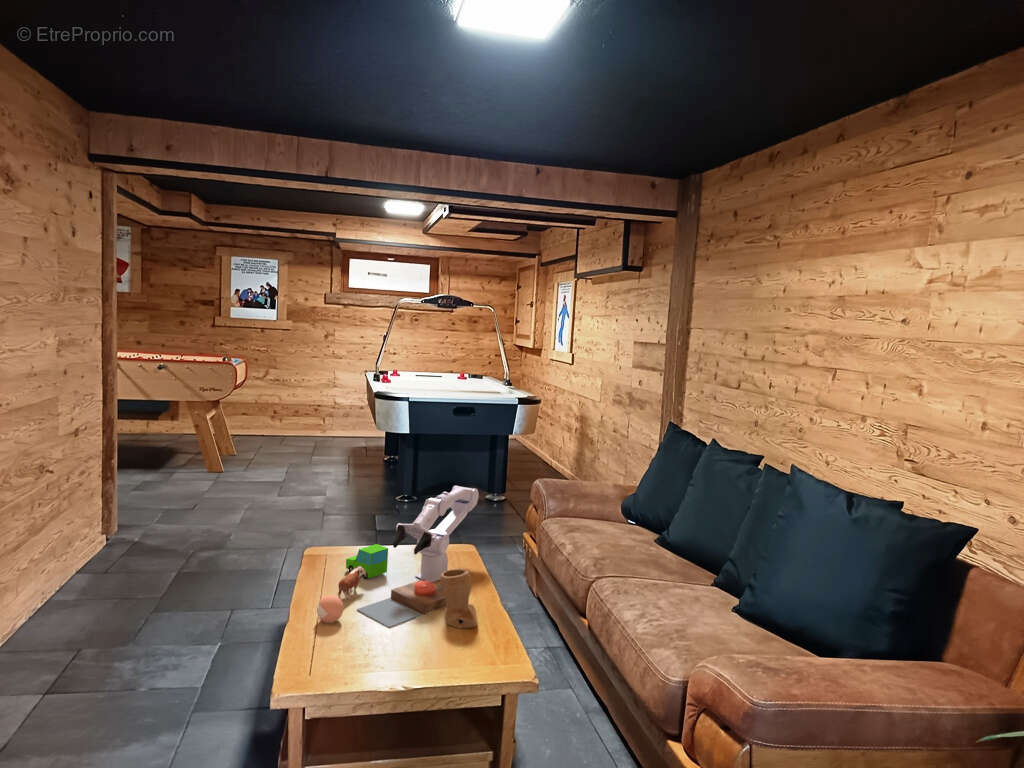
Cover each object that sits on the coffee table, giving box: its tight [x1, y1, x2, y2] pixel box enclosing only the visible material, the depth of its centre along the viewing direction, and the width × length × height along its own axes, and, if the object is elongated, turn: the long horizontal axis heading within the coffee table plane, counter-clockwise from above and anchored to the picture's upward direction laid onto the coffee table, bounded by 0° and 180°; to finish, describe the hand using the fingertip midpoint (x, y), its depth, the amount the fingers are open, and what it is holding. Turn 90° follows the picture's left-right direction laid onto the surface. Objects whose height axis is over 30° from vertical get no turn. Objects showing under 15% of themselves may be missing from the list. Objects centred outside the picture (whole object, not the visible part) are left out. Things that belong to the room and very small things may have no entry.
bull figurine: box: [337, 566, 366, 600], centre depth 213 cm, size 4×13×8 cm, turn 161°
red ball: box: [414, 580, 437, 596], centre depth 213 cm, size 7×7×2 cm
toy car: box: [345, 543, 389, 580], centre depth 232 cm, size 10×13×10 cm
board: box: [390, 579, 447, 616], centre depth 213 cm, size 14×16×3 cm
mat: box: [356, 597, 423, 629], centre depth 202 cm, size 13×16×1 cm
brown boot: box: [440, 568, 478, 629], centre depth 200 cm, size 15×12×15 cm
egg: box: [316, 594, 344, 624], centre depth 193 cm, size 8×8×8 cm
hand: (404, 548), depth 212 cm, fingers open, 7 cm apart
